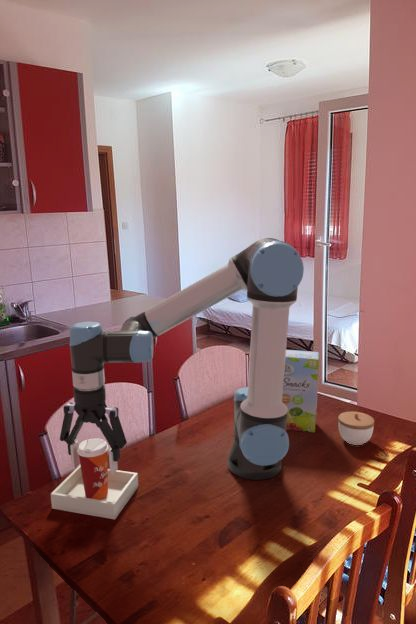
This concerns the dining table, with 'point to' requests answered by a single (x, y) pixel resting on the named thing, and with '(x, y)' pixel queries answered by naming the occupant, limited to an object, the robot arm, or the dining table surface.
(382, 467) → the dining table surface
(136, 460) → the dining table surface
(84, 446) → the paper cup
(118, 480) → the tray
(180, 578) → the dining table surface
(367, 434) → the lidded jar
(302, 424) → the snack box
